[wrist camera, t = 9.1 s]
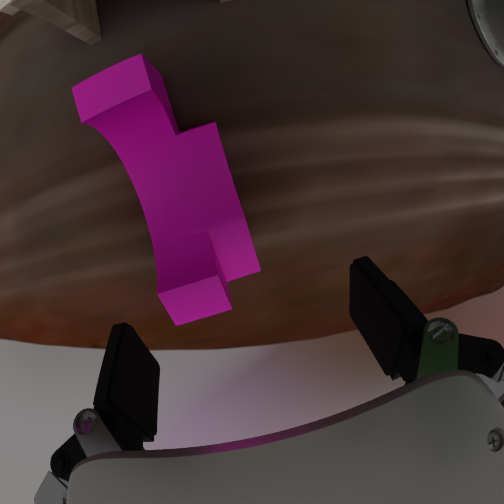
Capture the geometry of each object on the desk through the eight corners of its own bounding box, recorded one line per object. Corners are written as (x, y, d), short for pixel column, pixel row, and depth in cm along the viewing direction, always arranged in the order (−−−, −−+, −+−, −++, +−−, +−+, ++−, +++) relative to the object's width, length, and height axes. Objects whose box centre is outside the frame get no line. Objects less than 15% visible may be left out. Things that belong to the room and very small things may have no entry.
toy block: (249, 242, 23) (271, 296, 16) (180, 265, 23) (176, 325, 16) (195, 65, 15) (193, 35, 9) (114, 95, 15) (71, 87, 9)
